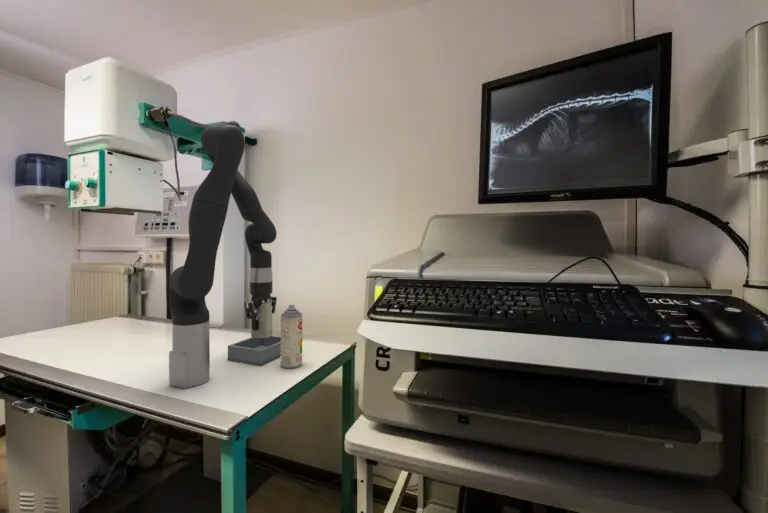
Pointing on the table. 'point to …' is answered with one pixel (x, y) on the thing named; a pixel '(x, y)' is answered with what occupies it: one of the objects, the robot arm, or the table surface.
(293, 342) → the aerosol can
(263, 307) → the skincare box
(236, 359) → the tote
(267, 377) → the table surface
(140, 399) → the table surface
